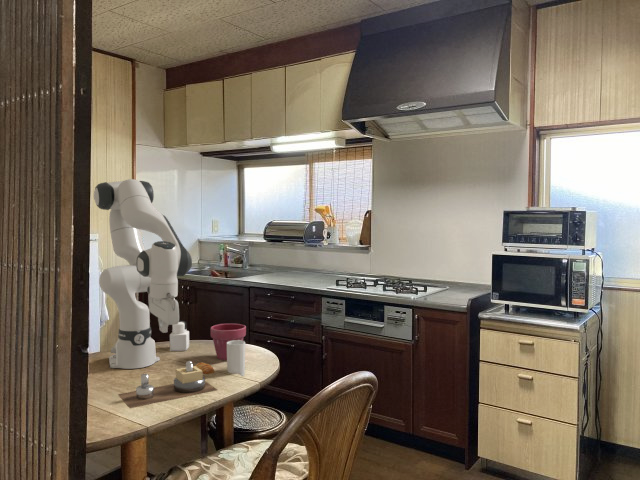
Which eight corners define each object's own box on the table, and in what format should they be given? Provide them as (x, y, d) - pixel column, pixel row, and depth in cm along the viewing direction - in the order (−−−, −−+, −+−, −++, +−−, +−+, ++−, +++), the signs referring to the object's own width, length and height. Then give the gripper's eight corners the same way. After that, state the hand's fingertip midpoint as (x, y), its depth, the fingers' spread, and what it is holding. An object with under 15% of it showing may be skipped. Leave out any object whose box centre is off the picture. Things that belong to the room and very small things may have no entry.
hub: (169, 386, 173) (169, 359, 172) (198, 381, 179) (198, 355, 178) (180, 395, 165) (179, 367, 164) (209, 389, 170) (209, 362, 170)
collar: (176, 378, 172) (176, 369, 172) (195, 374, 176) (195, 365, 176) (183, 383, 167) (183, 374, 167) (202, 379, 171) (202, 370, 170)
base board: (118, 398, 165) (118, 394, 165) (201, 382, 181) (201, 378, 181) (129, 413, 154) (129, 408, 154) (217, 394, 170) (217, 389, 170)
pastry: (219, 376, 189) (219, 366, 189) (202, 380, 185) (202, 370, 184) (206, 370, 196) (206, 360, 196) (190, 374, 192) (190, 364, 191)
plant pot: (232, 350, 223) (232, 321, 222) (253, 357, 213) (252, 326, 212) (203, 357, 212) (203, 326, 212) (224, 364, 203) (223, 332, 202)
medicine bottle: (172, 346, 229) (172, 319, 228) (189, 346, 229) (189, 319, 229) (169, 351, 222) (169, 323, 221) (186, 350, 222) (186, 323, 222)
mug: (242, 378, 186) (241, 345, 186) (224, 377, 188) (223, 344, 187) (250, 369, 196) (250, 338, 196) (233, 368, 198) (233, 337, 197)
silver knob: (134, 396, 164) (134, 374, 164) (150, 392, 167) (150, 371, 167) (139, 401, 160) (138, 378, 159) (155, 397, 163) (155, 375, 162)
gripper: (184, 296, 165) (183, 338, 167) (163, 284, 182) (163, 323, 183) (164, 297, 162) (164, 341, 163) (145, 286, 178) (145, 325, 180)
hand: (163, 331), depth 173 cm, fingers closed
